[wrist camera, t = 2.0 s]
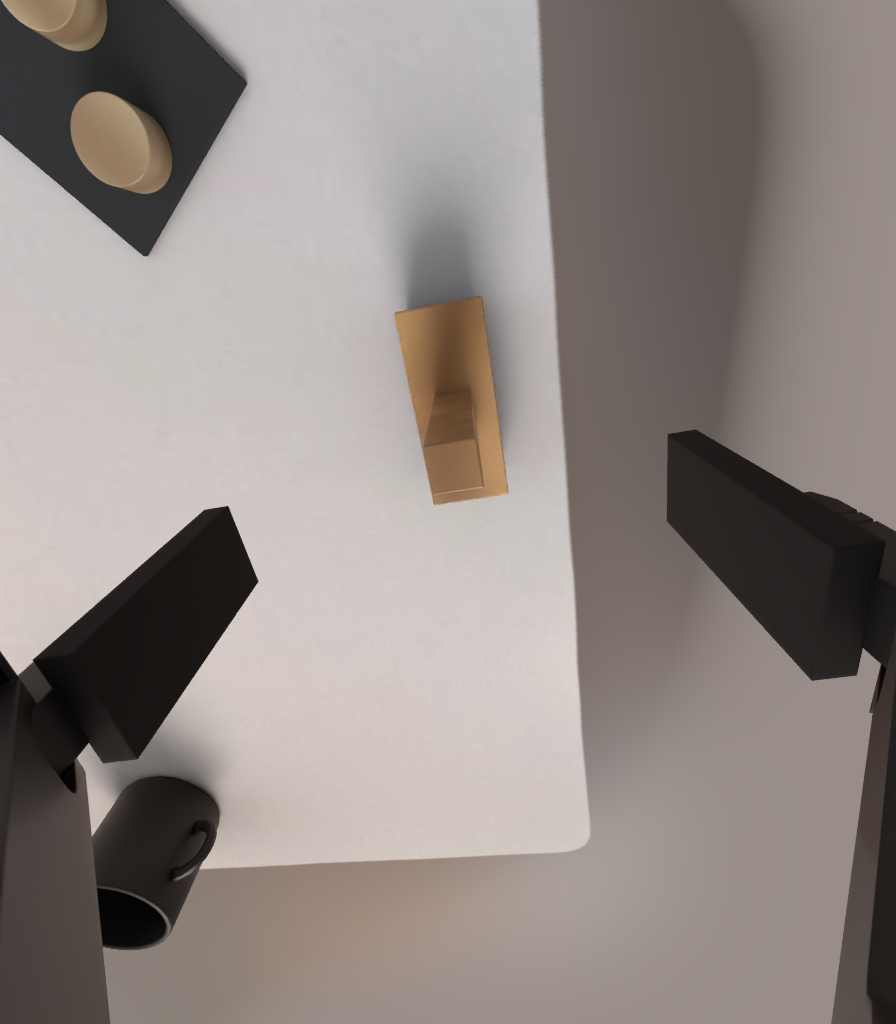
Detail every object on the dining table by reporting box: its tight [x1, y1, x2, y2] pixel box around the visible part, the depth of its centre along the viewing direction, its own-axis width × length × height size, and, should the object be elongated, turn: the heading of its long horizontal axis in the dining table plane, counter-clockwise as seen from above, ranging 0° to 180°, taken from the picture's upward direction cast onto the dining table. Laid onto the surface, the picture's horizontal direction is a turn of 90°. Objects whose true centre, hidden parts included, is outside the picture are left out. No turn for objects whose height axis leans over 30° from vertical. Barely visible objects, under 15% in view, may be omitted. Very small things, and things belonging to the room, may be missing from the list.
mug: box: [92, 777, 219, 950], centre depth 42 cm, size 9×12×9 cm
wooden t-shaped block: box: [394, 296, 509, 505], centre depth 24 cm, size 4×11×13 cm, turn 10°
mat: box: [0, 0, 247, 256], centre depth 23 cm, size 10×10×1 cm
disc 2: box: [70, 91, 172, 194], centre depth 23 cm, size 4×4×2 cm
